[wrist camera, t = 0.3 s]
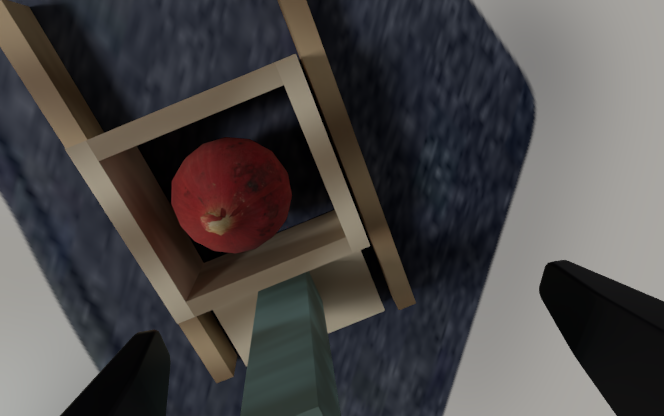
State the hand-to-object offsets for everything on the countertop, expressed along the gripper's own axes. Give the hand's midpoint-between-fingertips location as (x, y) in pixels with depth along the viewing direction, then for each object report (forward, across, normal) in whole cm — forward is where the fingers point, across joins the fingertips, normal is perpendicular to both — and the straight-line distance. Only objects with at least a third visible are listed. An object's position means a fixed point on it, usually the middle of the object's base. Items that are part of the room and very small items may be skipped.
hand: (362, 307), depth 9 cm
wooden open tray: (+14, +3, +6) cm, 16 cm away
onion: (+15, +4, +3) cm, 16 cm away
